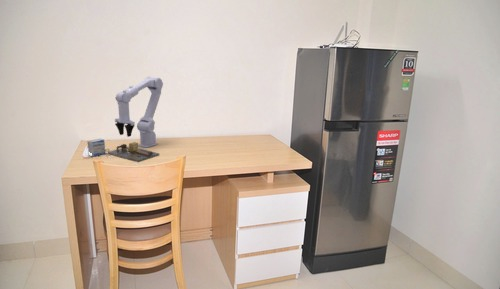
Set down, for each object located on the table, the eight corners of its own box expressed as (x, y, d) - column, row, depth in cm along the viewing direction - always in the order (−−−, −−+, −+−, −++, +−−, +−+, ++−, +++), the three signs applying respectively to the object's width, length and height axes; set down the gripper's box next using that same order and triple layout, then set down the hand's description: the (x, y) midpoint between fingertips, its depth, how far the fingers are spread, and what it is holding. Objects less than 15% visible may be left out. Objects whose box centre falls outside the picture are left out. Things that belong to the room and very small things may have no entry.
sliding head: (134, 150, 195) (134, 142, 193) (138, 150, 193) (137, 142, 192) (125, 152, 189) (124, 144, 187) (129, 153, 187) (128, 145, 186)
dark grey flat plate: (129, 147, 203) (129, 145, 203) (159, 155, 192) (159, 153, 191) (107, 153, 190) (107, 152, 189) (138, 162, 178) (138, 160, 178)
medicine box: (93, 157, 183) (92, 142, 181) (88, 155, 185) (87, 140, 183) (105, 153, 190) (104, 139, 187) (100, 152, 192) (99, 138, 189)
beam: (124, 148, 198) (124, 144, 197) (152, 155, 187) (152, 150, 186) (116, 150, 193) (115, 146, 192) (144, 158, 182) (144, 153, 181)
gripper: (109, 112, 189) (111, 134, 193) (127, 115, 183) (128, 138, 186) (119, 110, 195) (121, 132, 199) (137, 113, 188) (138, 136, 192)
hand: (125, 135), depth 193 cm, fingers open, 6 cm apart
